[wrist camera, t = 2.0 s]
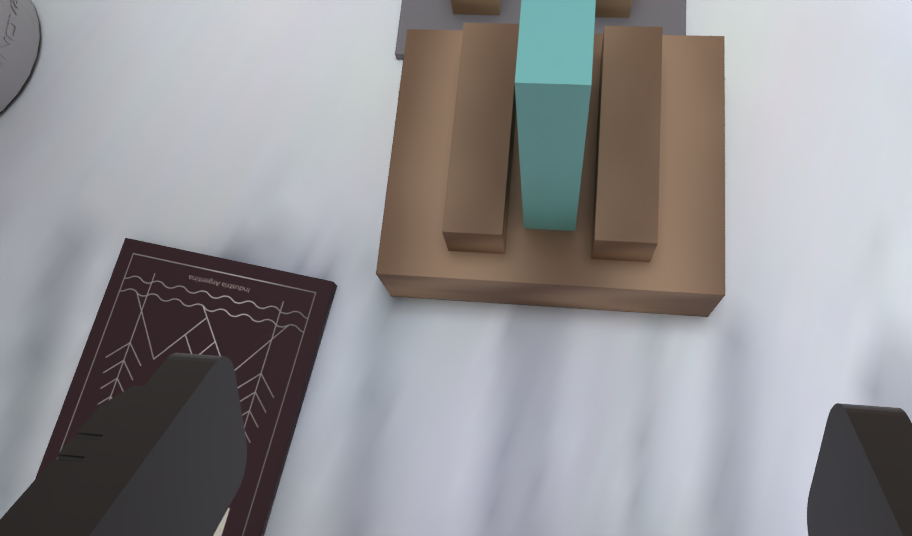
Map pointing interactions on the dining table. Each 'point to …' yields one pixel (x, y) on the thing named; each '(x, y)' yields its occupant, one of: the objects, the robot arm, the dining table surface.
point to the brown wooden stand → (601, 189)
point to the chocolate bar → (207, 351)
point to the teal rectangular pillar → (553, 107)
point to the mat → (431, 9)
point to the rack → (609, 3)
